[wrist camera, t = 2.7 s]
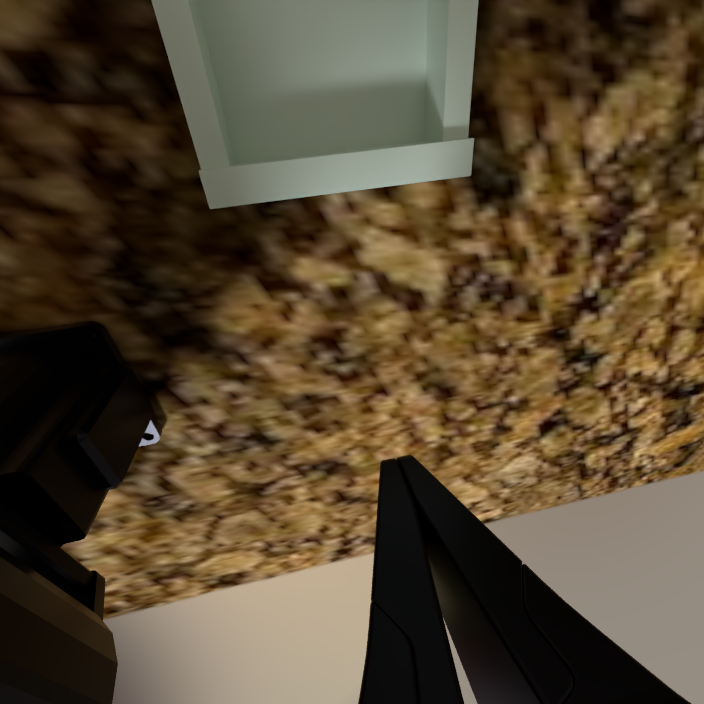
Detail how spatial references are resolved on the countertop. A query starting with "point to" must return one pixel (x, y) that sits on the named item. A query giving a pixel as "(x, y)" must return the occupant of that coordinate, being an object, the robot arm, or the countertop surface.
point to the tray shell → (322, 93)
